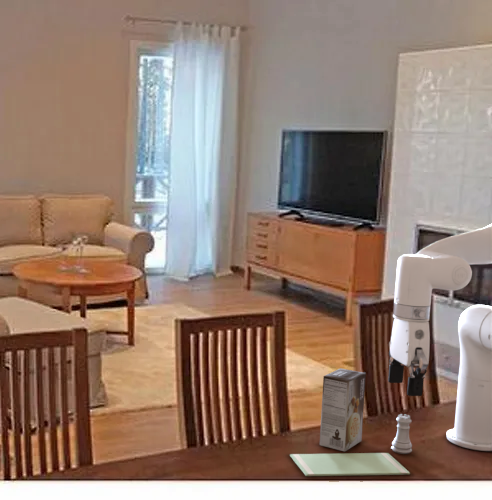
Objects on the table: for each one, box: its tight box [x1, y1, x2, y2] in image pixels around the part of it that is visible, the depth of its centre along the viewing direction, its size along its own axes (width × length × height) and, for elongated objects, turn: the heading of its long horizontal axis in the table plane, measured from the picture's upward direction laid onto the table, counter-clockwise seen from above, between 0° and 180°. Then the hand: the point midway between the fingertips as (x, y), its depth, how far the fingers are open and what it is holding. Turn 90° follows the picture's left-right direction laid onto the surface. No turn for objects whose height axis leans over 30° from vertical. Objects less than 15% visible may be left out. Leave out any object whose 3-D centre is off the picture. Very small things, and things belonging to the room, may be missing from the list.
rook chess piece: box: [390, 413, 413, 455], centre depth 185 cm, size 4×4×8 cm
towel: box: [289, 452, 411, 477], centre depth 176 cm, size 22×11×1 cm, turn 97°
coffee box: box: [319, 368, 367, 453], centre depth 188 cm, size 9×6×16 cm
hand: (404, 388), depth 183 cm, fingers open, 9 cm apart
